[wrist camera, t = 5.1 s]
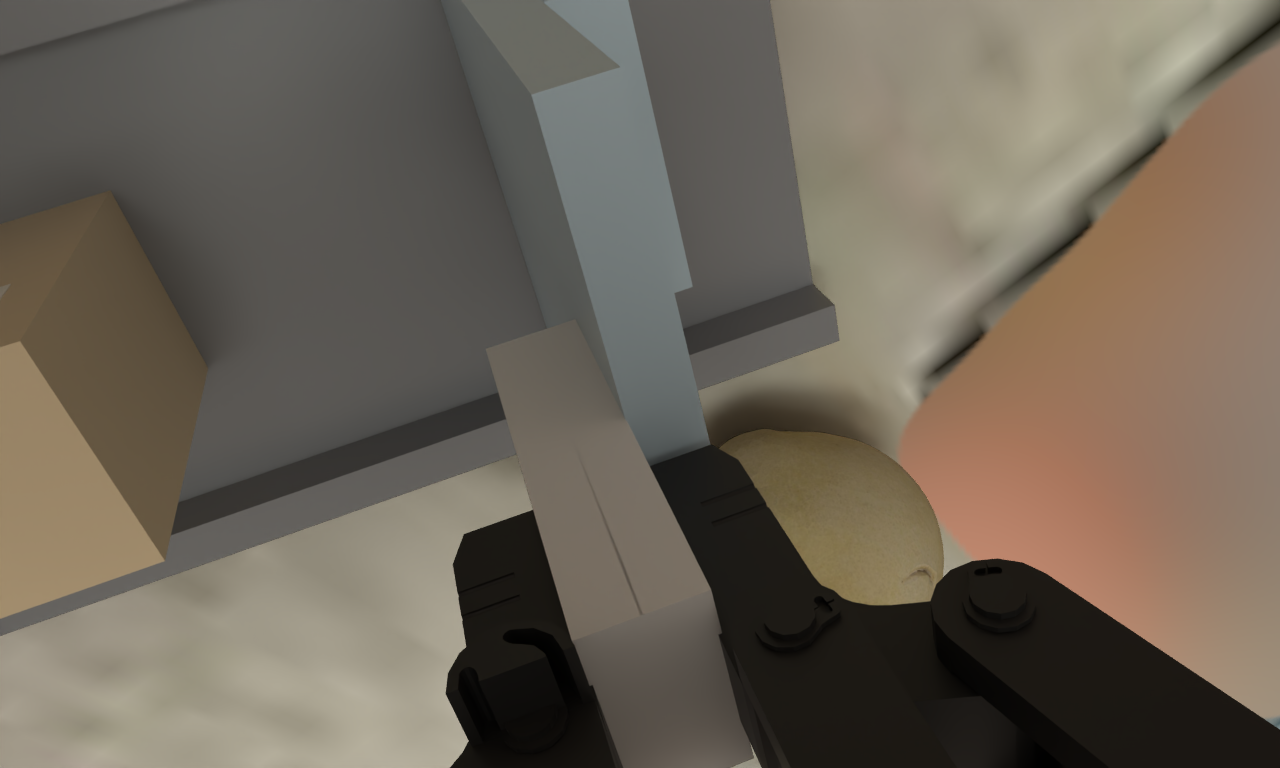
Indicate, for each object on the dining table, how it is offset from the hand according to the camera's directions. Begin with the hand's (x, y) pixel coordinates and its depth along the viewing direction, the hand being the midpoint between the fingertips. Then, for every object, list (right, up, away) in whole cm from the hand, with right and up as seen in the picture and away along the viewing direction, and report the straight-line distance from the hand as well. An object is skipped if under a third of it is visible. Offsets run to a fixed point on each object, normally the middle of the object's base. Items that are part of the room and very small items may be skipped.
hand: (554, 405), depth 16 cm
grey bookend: (0, +6, +9) cm, 11 cm away
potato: (+5, -3, +18) cm, 19 cm away
